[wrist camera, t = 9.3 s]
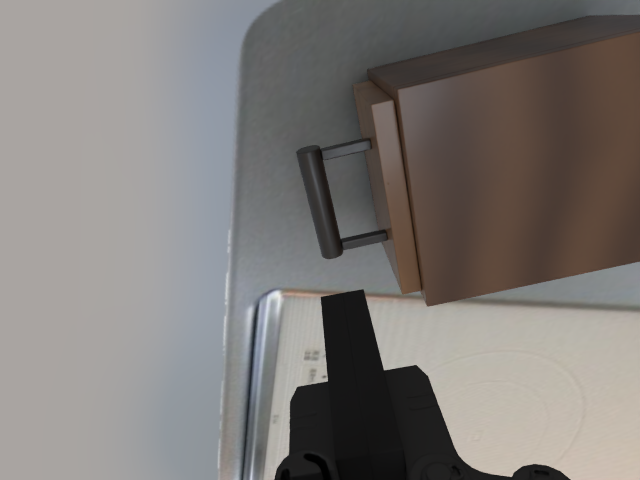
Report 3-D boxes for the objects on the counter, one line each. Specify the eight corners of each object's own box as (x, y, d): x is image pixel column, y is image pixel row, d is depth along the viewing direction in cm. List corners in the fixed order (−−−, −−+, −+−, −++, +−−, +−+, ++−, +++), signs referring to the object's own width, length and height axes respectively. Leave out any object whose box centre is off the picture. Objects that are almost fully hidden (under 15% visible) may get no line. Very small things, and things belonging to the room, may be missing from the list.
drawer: (324, 251, 35) (332, 309, 28) (287, 99, 30) (285, 124, 23) (559, 199, 34) (628, 246, 27) (561, 34, 29) (647, 39, 22)
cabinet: (394, 237, 35) (427, 307, 27) (366, 69, 30) (396, 89, 21) (583, 195, 35) (678, 253, 26) (589, 15, 29) (714, 13, 21)
